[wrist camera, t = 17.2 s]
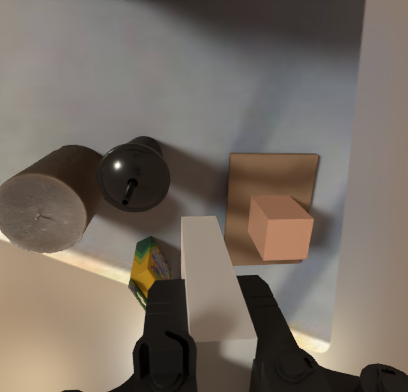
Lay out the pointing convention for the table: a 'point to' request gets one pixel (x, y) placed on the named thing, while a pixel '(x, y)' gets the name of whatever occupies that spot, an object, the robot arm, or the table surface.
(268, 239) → the tall salmon block
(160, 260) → the crayon box
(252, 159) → the post board
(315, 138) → the table surface
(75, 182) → the pillar candle
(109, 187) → the drinking cup
